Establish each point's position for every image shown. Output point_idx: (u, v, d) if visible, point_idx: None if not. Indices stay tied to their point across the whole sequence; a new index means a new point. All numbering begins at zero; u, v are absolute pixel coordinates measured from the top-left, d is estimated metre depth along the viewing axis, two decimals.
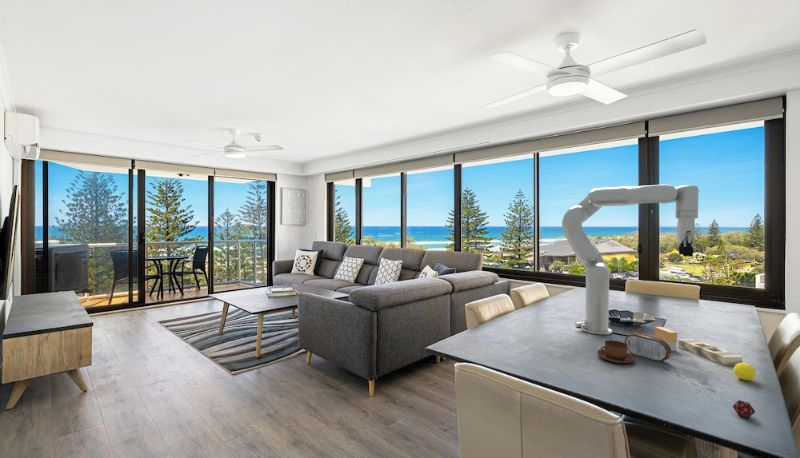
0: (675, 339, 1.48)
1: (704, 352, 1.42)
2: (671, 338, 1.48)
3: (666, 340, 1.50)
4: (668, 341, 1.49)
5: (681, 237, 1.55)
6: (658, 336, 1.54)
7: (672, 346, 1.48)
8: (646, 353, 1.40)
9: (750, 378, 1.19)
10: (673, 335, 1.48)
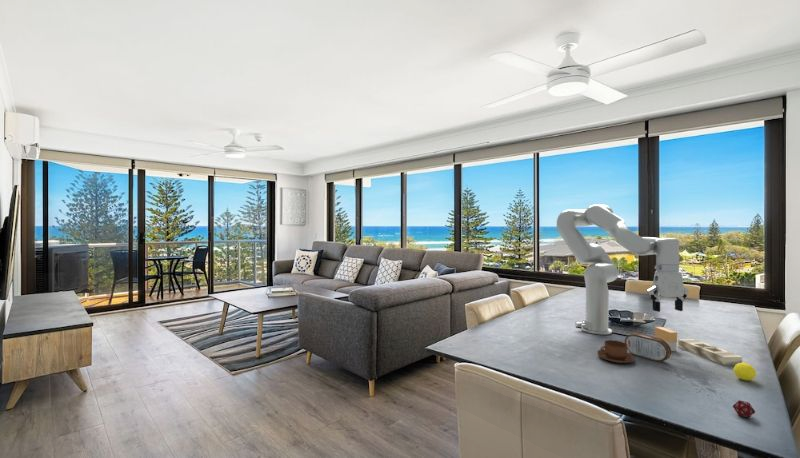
0: (675, 339, 1.48)
1: (704, 352, 1.42)
2: (671, 338, 1.48)
3: (666, 340, 1.50)
4: (668, 341, 1.49)
5: None
6: (658, 336, 1.54)
7: (672, 346, 1.48)
8: (646, 353, 1.40)
9: (750, 378, 1.19)
10: (673, 335, 1.48)
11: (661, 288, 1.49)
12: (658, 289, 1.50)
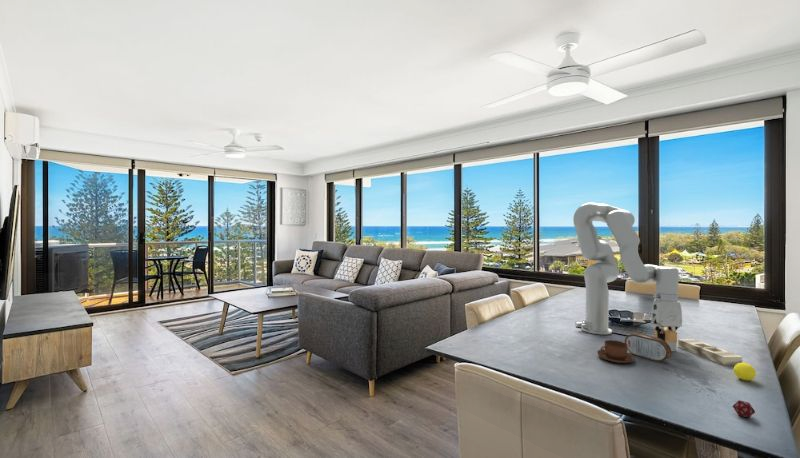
0: (675, 339, 1.48)
1: (704, 352, 1.42)
2: (671, 338, 1.48)
3: (666, 340, 1.50)
4: (668, 341, 1.49)
5: None
6: None
7: (672, 346, 1.48)
8: (646, 353, 1.40)
9: (750, 378, 1.19)
10: (673, 335, 1.48)
11: (659, 317, 1.49)
12: (656, 318, 1.50)
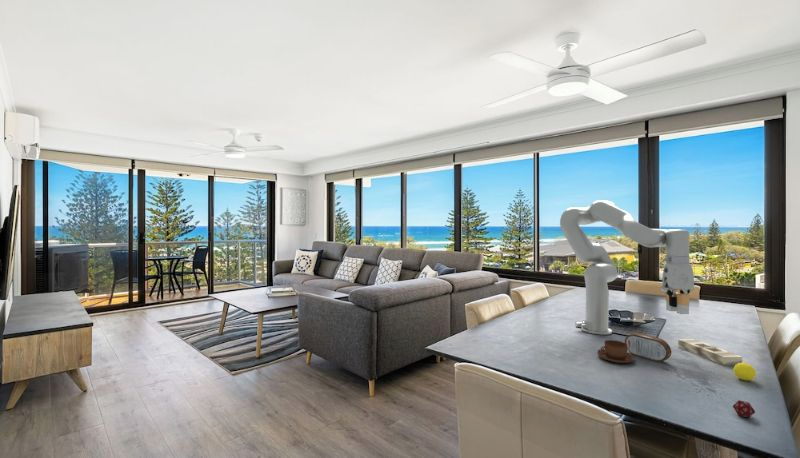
0: (687, 302, 1.46)
1: (704, 352, 1.42)
2: (683, 301, 1.45)
3: (678, 303, 1.47)
4: (680, 304, 1.46)
5: None
6: None
7: (684, 309, 1.46)
8: (646, 353, 1.40)
9: (750, 378, 1.19)
10: (685, 298, 1.46)
11: (671, 280, 1.47)
12: (667, 281, 1.48)
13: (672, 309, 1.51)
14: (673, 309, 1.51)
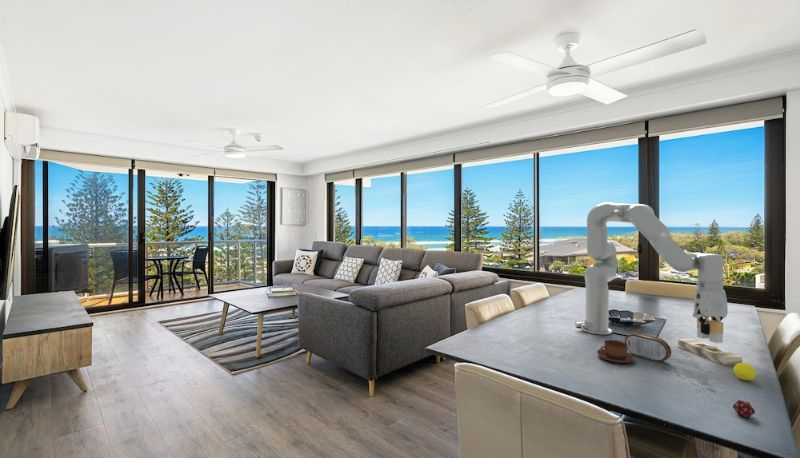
0: (721, 330, 1.40)
1: (704, 352, 1.42)
2: (717, 329, 1.40)
3: (711, 331, 1.41)
4: (714, 332, 1.40)
5: None
6: None
7: (718, 337, 1.40)
8: (646, 353, 1.40)
9: (750, 378, 1.19)
10: (719, 326, 1.40)
11: (704, 307, 1.41)
12: (700, 308, 1.42)
13: (704, 336, 1.45)
14: (705, 336, 1.45)
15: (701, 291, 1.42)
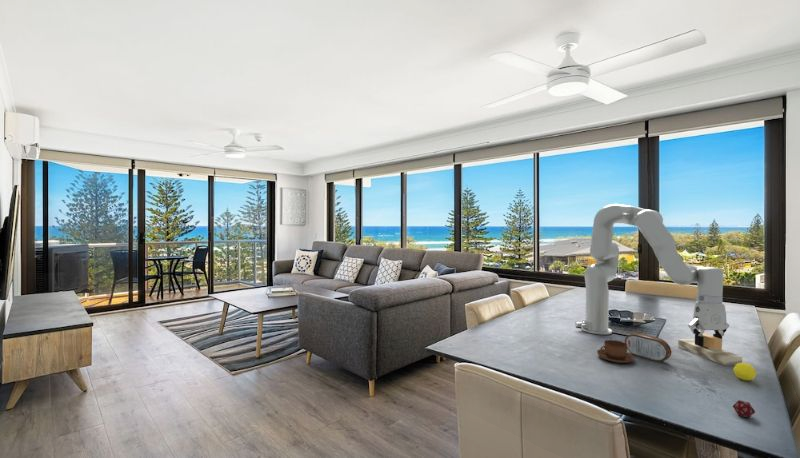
0: (720, 346, 1.40)
1: (704, 352, 1.42)
2: (716, 345, 1.40)
3: (710, 347, 1.42)
4: (712, 348, 1.41)
5: None
6: None
7: None
8: (646, 353, 1.40)
9: (750, 378, 1.19)
10: (718, 342, 1.40)
11: (703, 321, 1.41)
12: (699, 321, 1.42)
13: None
14: None
15: (700, 304, 1.42)
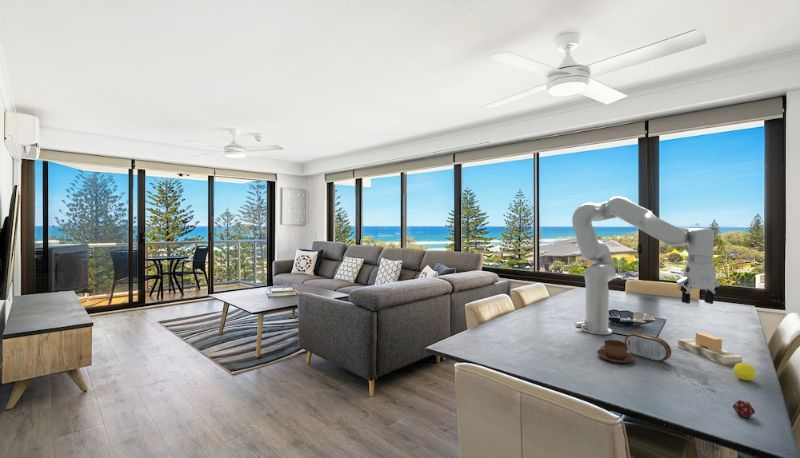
0: (720, 346, 1.40)
1: (704, 352, 1.42)
2: (716, 345, 1.40)
3: (710, 347, 1.42)
4: (712, 348, 1.41)
5: None
6: (700, 343, 1.46)
7: None
8: (646, 353, 1.40)
9: (750, 378, 1.19)
10: (718, 342, 1.40)
11: (692, 280, 1.44)
12: (689, 280, 1.45)
13: None
14: None
15: (691, 264, 1.45)
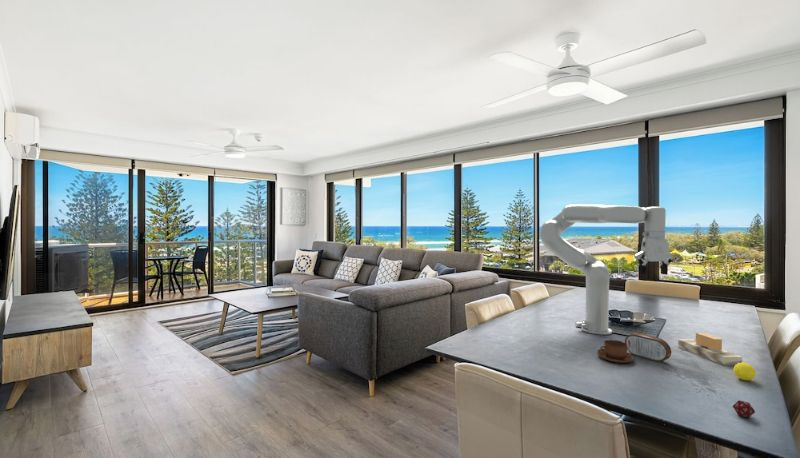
0: (720, 346, 1.40)
1: (704, 352, 1.42)
2: (716, 345, 1.40)
3: (710, 347, 1.42)
4: (712, 348, 1.41)
5: None
6: (700, 343, 1.46)
7: None
8: (646, 353, 1.40)
9: (750, 378, 1.19)
10: (718, 342, 1.40)
11: (648, 253, 1.61)
12: (645, 254, 1.62)
13: None
14: None
15: (646, 239, 1.62)
